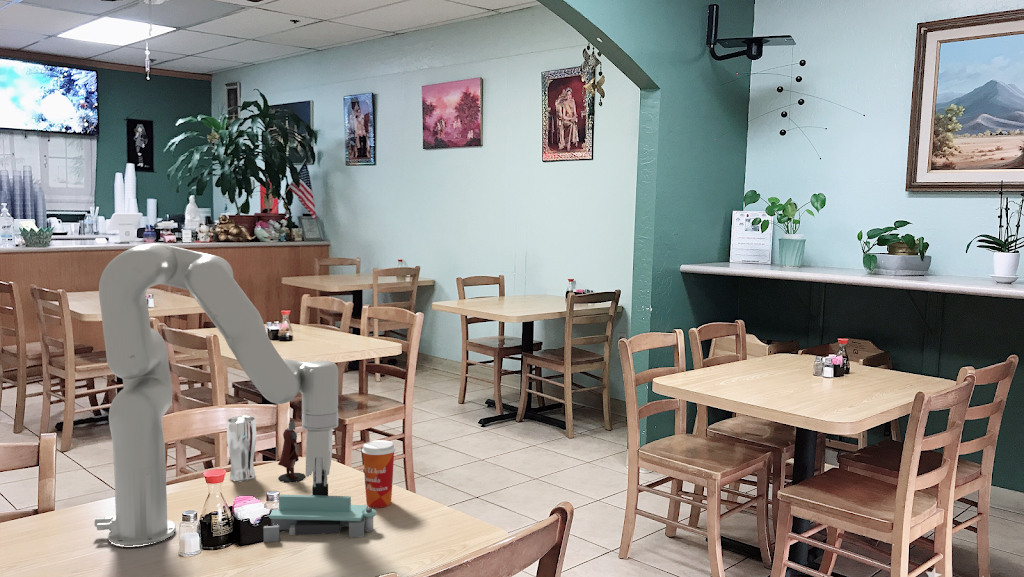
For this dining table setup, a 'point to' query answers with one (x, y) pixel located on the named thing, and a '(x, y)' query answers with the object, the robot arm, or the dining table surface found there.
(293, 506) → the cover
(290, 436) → the figurine
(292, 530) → the usb flash drive
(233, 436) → the beer glass
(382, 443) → the paper cup
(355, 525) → the grey frame
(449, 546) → the dining table surface
